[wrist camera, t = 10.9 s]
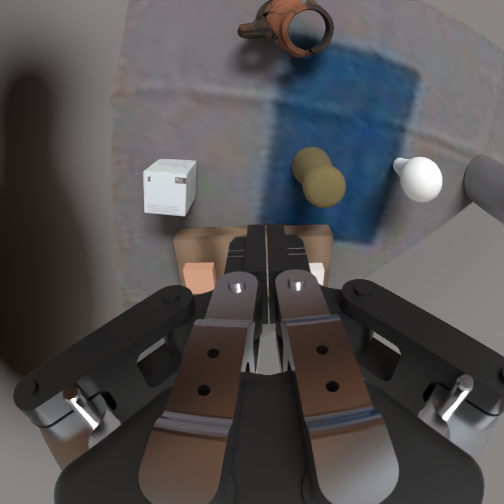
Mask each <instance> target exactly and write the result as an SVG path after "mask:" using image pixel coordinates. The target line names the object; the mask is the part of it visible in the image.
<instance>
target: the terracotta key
mask: <svg viewBox="0 0 504 504" xmlns="http://www.w3.org/2000/svg"><path fill="white" fill-rule="evenodd" d="M183 273H184V278H185V283H186V287H187V288H189V289H190V290H191V291H192V294H202V293H206V292H209V291H211V290H213V289H214V287H215V284H216V282H217V281H216V274H215V266H214V262H211V263H185V266H184V269H183Z"/></svg>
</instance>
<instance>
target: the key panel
mask: <svg viewBox="0 0 504 504" xmlns="http://www.w3.org/2000/svg"><path fill="white" fill-rule="evenodd" d="M247 228H248V226H239V227H209V228H183V229H179V230H178V231H177V233H176V235H175V237H174V239H173V244H174V249H175V255H176V260H177V265H178V270H179V274H180V279H181V284H182V286H185V287H186V283H185V278H184V273H183V269H184V266H185V263H211V262H214V266H215V274H216V281H217V280H218V279H219V278H220V277H221V276H223V275H224V271H225V266H226V260H227V255H228V249H229V244H230V242H231V241H232V240H233V239H234V238H235V237H246V236H247ZM284 230H285V235H298V236H299V237H300V238H301V239H302V240H303V242H304V246H305V250H306V254H307V258H308V262H309V263H322V264H323V267H324V270H325V271H324V280H323V286H325V287H327V286H328V279H329V270H330V262H331V253H332V243H333V235H332V233H331V230H330V228H329V226H328V225H284ZM265 239H266V257H268V252H267V226H265ZM193 295H198V294H193ZM267 297H269V280H268V289H267Z"/></svg>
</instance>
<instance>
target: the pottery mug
mask: <svg viewBox="0 0 504 504" xmlns="http://www.w3.org/2000/svg"><path fill="white" fill-rule="evenodd" d="M305 10H313V11H316V12H318V13H319V14H320V15H321V16H322V17H323V19H324V21H325V25H326V30H325V34H324V36H323V38H322V40H321V41H320V43H319V44H318V45H316V46H315V47H313V48H311V49H309V50H303V49H300V48H297V47H296V46H295V45H294V44H293V43H292V42H291V40H290V38H289V36H288V29H289V25H290V22H291V20H292V19H293V17H294V16H295V15H296V14H298V13H299V12H302V11H305ZM267 14H268V15H267ZM265 15H267V16H266V18H265ZM333 31H334V25H333V21H332V18H331V17H330V15H329V14H328V13H327V12H326V10H324V9H323V8H322V7H321V6H320V5H318V4H317V3H316V2H315V1H314V0H307V1H306V3H304V4H302V3H301V1H300V0H269V1H267V2H266V3H264V4H263V5H262V6H261V7H260V9H259V10H258V13H257V17H256V20H255V21H253V22H252V23H247V24H241V25H239V28H238V30H237V32H238V35H239V36H240V37H242V38H245V39H253V38H263V39H264V40H266V41H268V40H270V39H272V38H273V36H274V34H275V35H277V37H278V38H277V39H276V40H275V42H276V43H277V44H278V45H279V46H281V47H282V48H283V49H284V50H286V51H287V52H289V53H290V54H293V55H292V56H293V57H294V58H296V57H297V58H300V57H305V56H308V55H311V54H313V53H314V54H318V53H319V52H321V51H322V50H323V49H325V48H326V47H327V46H328V45H329V43H330V41H331V38H332V36H333Z"/></svg>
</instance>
